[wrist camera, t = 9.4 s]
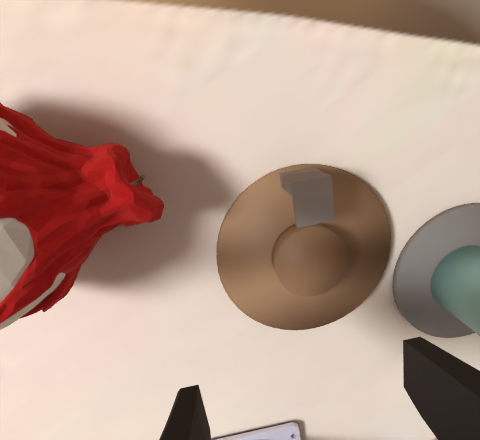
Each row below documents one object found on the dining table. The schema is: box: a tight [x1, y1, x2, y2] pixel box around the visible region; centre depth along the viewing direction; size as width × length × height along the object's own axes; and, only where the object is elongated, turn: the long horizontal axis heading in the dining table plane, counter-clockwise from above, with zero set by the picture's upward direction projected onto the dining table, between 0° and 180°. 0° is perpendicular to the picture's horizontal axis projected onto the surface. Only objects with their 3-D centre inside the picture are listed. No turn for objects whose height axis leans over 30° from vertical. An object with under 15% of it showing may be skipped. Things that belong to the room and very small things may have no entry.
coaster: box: [393, 203, 480, 338], centre depth 23 cm, size 10×10×1 cm
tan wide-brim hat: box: [217, 164, 391, 330], centre depth 20 cm, size 11×11×4 cm
